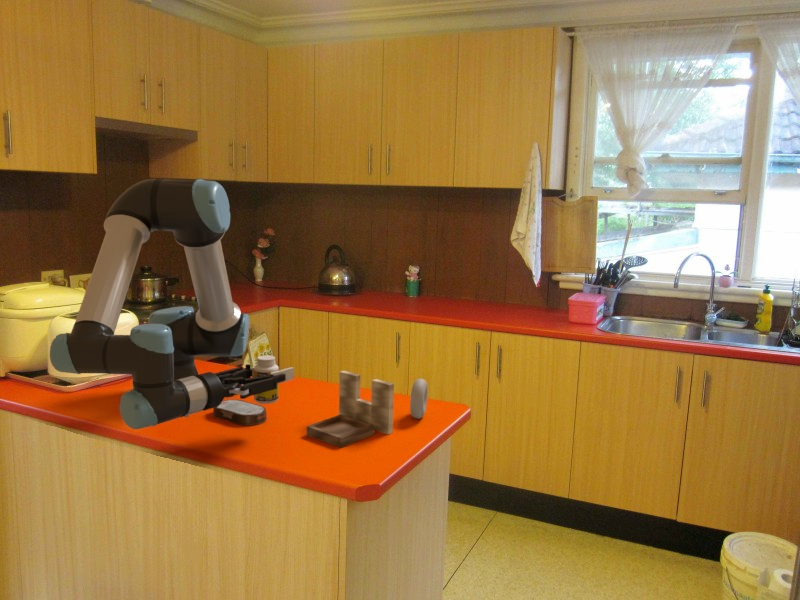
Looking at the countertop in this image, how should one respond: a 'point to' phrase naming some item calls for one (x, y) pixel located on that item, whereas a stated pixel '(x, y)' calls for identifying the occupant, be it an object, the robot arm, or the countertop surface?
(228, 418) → the tin
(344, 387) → the notched board
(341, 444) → the square tray
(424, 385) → the donut
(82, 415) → the countertop surface
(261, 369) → the supplement bottle
